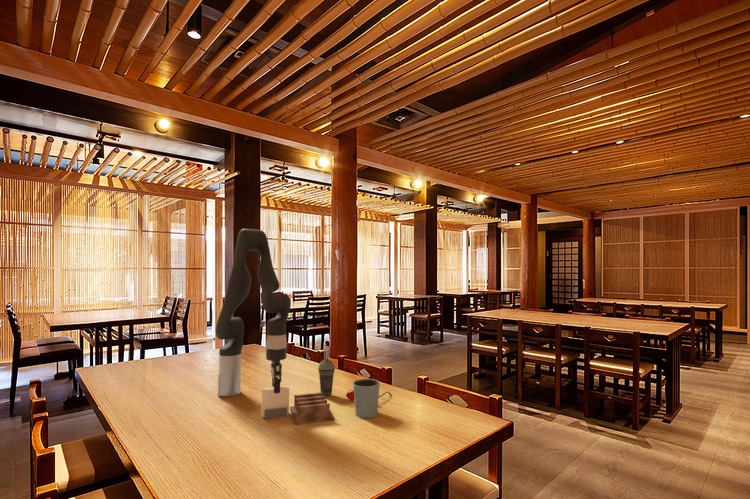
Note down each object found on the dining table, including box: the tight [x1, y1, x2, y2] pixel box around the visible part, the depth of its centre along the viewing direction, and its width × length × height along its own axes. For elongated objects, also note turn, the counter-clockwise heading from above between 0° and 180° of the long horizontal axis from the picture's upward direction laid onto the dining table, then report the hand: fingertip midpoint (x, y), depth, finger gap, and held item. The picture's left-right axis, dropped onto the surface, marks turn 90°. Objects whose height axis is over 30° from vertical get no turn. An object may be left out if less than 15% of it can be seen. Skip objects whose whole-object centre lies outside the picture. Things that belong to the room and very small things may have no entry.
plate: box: [260, 385, 290, 419], centre depth 147 cm, size 10×2×10 cm, turn 109°
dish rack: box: [289, 391, 335, 426], centre depth 148 cm, size 14×15×6 cm
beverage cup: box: [317, 348, 336, 398], centre depth 170 cm, size 7×7×20 cm
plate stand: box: [263, 407, 288, 420], centre depth 147 cm, size 8×5×3 cm
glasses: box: [345, 389, 392, 402], centre depth 168 cm, size 14×16×5 cm
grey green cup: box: [352, 378, 381, 419], centre depth 149 cm, size 10×10×12 cm
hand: (275, 389), depth 147 cm, fingers open, 8 cm apart
